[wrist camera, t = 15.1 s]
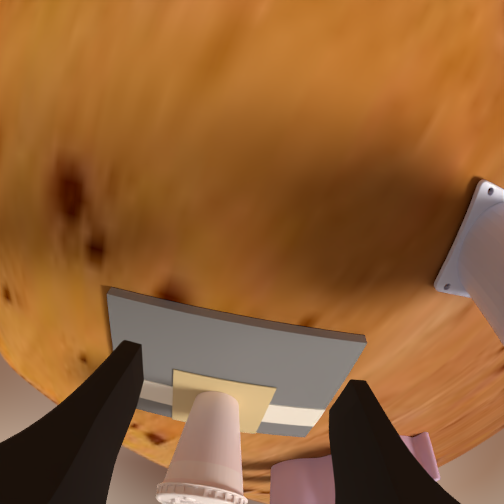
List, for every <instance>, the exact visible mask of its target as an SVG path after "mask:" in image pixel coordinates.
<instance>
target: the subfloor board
mask: <svg viewBox="0 0 504 504" xmlns="http://www.w3.org/2000/svg"><path fill="white" fill-rule="evenodd" d="M107 302H108V312H109V321H110V329H111V337H112V344H113V351H114V350H115V349H116V348H117V346H118V345H119V344H120V343H121V342H122V341H123V340H128V341H132V342H135V343H139V344H142V358H143V373H144V382H143V386H142V390H141V393H140V397H139V400H138V404H137V407H136V409H140V410H144V411H147V412H151V413H155V414H159V415H163V416H167V417H171V418H172V419H174V420H178V421H183V422H186V421H187V419H188V416H189V413H190V411H191V408H192V406H193V403H194V400H195V398H196V396H197V395H198V394H200V393H202V392H206V391H217V392H222V393H226V394H228V395H230V396H232V397H234V398H235V399H236V400H237V402H238V404H239V422H240V432H244V433H252V434H255V433H263V434H273V435H283V436H295V437H305V436H306V435H307V434H308V432H309V431H310V430H311V428H312V427H313V426H314V425H315V424H316V422H317V421H318V420H319V418H320V417H321V415H322V414H323V413H324V411H325V409H326V407H327V406H328V404H329V403H330V401H331V400H332V398H333V397H334V395H335V394H336V392H337V391H338V389H339V388H340V386H341V385H342V383H343V382H344V380H345V379H346V377H347V376H348V374H349V372H350V371H351V369H352V368H353V366H354V364H355V363H356V361H357V359H358V358H359V356H360V354H361V353H362V351H363V349H364V348H365V346H366V344H367V341H366V338H365V335H358V334H350V333H343V332H336V331H329V330H322V329H316V328H309V327H303V326H297V325H291V324H285V323H279V322H273V321H267V320H262V319H256V318H251V317H245V316H240V315H235V314H230V313H225V312H219V311H215V310H210V309H205V308H200V307H195V306H191V305H186V304H181V303H177V302H172V301H168V300H163V299H159V298H155V297H150V296H146V295H142V294H138V293H134V292H130V291H126V290H122V289H118V288H114V287H111V288H110V290H109V291H108V293H107Z"/></svg>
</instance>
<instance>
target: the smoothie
mask: <svg viewBox="0 0 504 504" xmlns="http://www.w3.org/2000/svg"><path fill="white" fill-rule="evenodd" d="M156 499H157V500H158V501H159V502H160V503H162V504H247V503H248V500H247V498H245V497H244V496H243V477H242V462H241V443H240V422H239V404H238V402H237V400H236V399H235V398H234V397H232V396H230V395H228V394H226V393H222V392H217V391H206V392H202V393H200V394H198V395H197V396H196V398H195V400H194V403H193V406H192V408H191V411H190V413H189V416H188V419H187V421H186V424H185V427H184V429H183V432H182V434H181V437H180V440H179V442H178V445H177V447H176V450H175V453H174V455H173V458H172V460H171V463H170V465H169V468H168V471H167V473H166V476H165V479H164V482H163V483H160V484H158V485H157V493H156Z"/></svg>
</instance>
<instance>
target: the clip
mask: <svg viewBox="0 0 504 504" xmlns="http://www.w3.org/2000/svg"><path fill="white" fill-rule="evenodd" d="M400 437H401V439H402V440H403V442H404V443H405V445H406V446H407V447H408V449H409V450H410V452H411V453H412V454H413V456H414V457H415V458H416V460H417V461H418V462H419V463H420V464H421V466H422V467H423V468H424V469H425V470H426V471H427V473H428V474H429V475H430V476H431V477H432V478H433V479H434V480H435V481H438V480H439V479H440V475H439V471H438V467H437V463H436V459H435V456H434V452H433V448H432V445H431V441H430V438H429V434H428V432H423V433H421V434H419V435H417V436H416V437H409V436H400ZM270 504H335V483H334V474H333V465H332V457H331V455H328V456H324V457H319V458H301V459H292V460H287V461H283V462H280V463H277V464H275V465H273V466H272V467H271V484H270Z"/></svg>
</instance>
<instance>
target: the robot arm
mask: <svg viewBox="0 0 504 504" xmlns="http://www.w3.org/2000/svg"><path fill="white" fill-rule="evenodd" d="M489 188H490V191H489V193H488V189H489ZM446 284H447V286H445V285H446ZM444 286H445V287H444ZM434 287H435V289H436V290H437V291H439V292H444V293H449V294H454V295H459V296H464V297H469V298H472V299H473V301H474V302H475V304H476V305H477V306H478V308H479V309H480V311H481V312H482V314H483V315H484V317H485V318H486V319H487V321H488V322H489V324H490V325H491V327H492V328H493V330H494V332H495V333H496V335H497V336H498V338H499V339H500V341H501V342H502V344H503V346H504V189H503V188H501V187H499V186H497V185H495V184H493V183H491V182H489V181H487V180H484V179H483V180H480V181H479V182H478V184H477V187H476V190H475V192H474V195H473V198H472V200H471V203H470V205H469V208H468V210H467V213H466V215H465V218H464V220H463V222H462V225H461V227H460V229H459V232H458V234H457V236H456V238H455V241H454V243H453V245H452V247H451V249H450V252H449V254H448V256H447V258H446V260H445V262H444V264H443V266H442V268H441V270H440V272H439V274H438V276H437V278H436V280H435V282H434ZM143 382H144V373H143V358H142V344H139V343H135V342H132V341H128V340H123V341H122V342H121V343H120V344H119V345H118V346H117V348H116V349H115V350H114V351H113V352H112V353H111V354H110V356H109V357H108V358H107V359H106V360H105V361H104V362H103V363H102V364H101V365H100V366H99V367H98V368H97V370H96V371H95V372H94V373H93V374H92V375H91V376H90V377H89V378H88V379H87V380H86V381H85V382H84V383H83V384H81V385H80V386H79V387H78V388H77V389H76V390H75V391H74V392H73V393H72V394H71V395H69V396H68V397H67V398H66V399H65V400H64V401H63V402H61V403H60V404H59V405H58V406H57V407H55V408H54V409H53V410H52V411H50V412H49V413H48V414H46V415H45V416H44V417H42V418H41V419H40V420H38V421H36V422H35V423H34V424H32V425H31V426H29V427H28V428H26V429H24V430H23V431H21V432H19V433H18V434H16V435H14V436H12V437H10V438H9V439H7V440H5V441H3V442H1V443H0V504H106V500H107V495H108V490H109V485H110V481H111V477H112V473H113V468H114V464H115V461H116V459H117V455H118V453H119V450H120V447H121V445H122V442H123V440H124V437H125V435H126V432H127V430H128V427H129V425H130V422H131V420H132V417H133V415H134V412H135V409H136V407H137V404H138V400H139V397H140V393H141V390H142V386H143ZM329 439H330V448H331V457H332V465H333V474H334V483H335V504H460V503H459V502H458V501H457V500H456V499H454V498H453V497H452V496H451V495H449V494H448V493H447V492H446V491H445V490H444V489H443V488H442V487H441V486H440V485H439V484H438V483H437V482H436V481H435V480H434V479H433V478H432V477H431V476H430V475H429V474H428V473H427V471H426V470H425V469H424V468H423V467H422V466H421V464H420V463H419V462H418V461H417V460H416V458H415V457H414V456H413V454H412V453H411V452H410V450H409V449H408V447H407V446H406V445H405V443H404V442H403V440H402V439H401V437H400V436H399V434H398V433H397V431H396V430H395V428H394V427H393V425H392V424H391V422H390V420H389V419H388V417H387V415H386V414H385V412H384V410H383V409H382V407H381V405H380V404H379V402H378V400H377V399H376V397H375V395H374V394H373V392H372V390H371V389H370V387H369V385H368V384H367V382H366V381H364V380H350V381H349V382H348V384H347V385H346V387H345V388H344V390H343V391H342V393H341V394H340V396H339V397H338V399H337V400H336V402H335V403H334V405H333V406H332V407H331V409H330V410H329Z"/></svg>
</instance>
